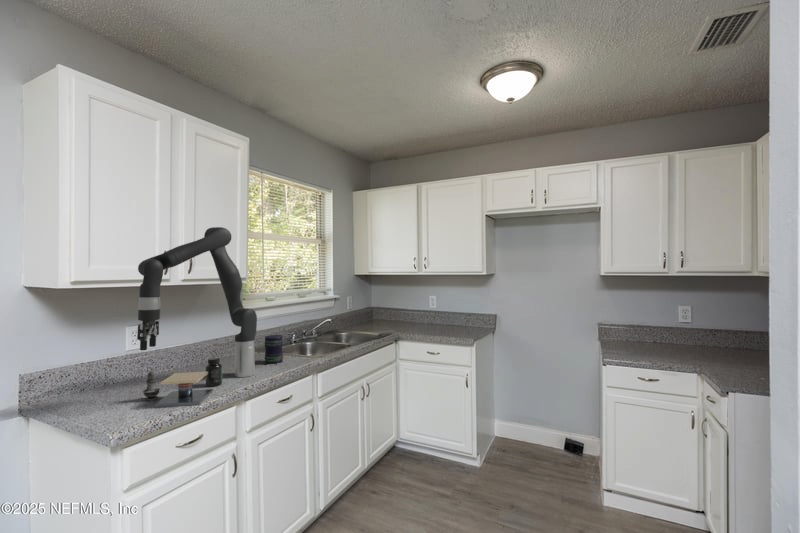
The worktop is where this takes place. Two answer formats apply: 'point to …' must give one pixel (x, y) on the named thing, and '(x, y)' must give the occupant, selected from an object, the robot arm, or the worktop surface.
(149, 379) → the stone finial
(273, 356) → the storage jar
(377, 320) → the worktop surface
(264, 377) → the worktop surface
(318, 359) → the worktop surface
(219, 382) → the supplement bottle
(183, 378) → the stand
